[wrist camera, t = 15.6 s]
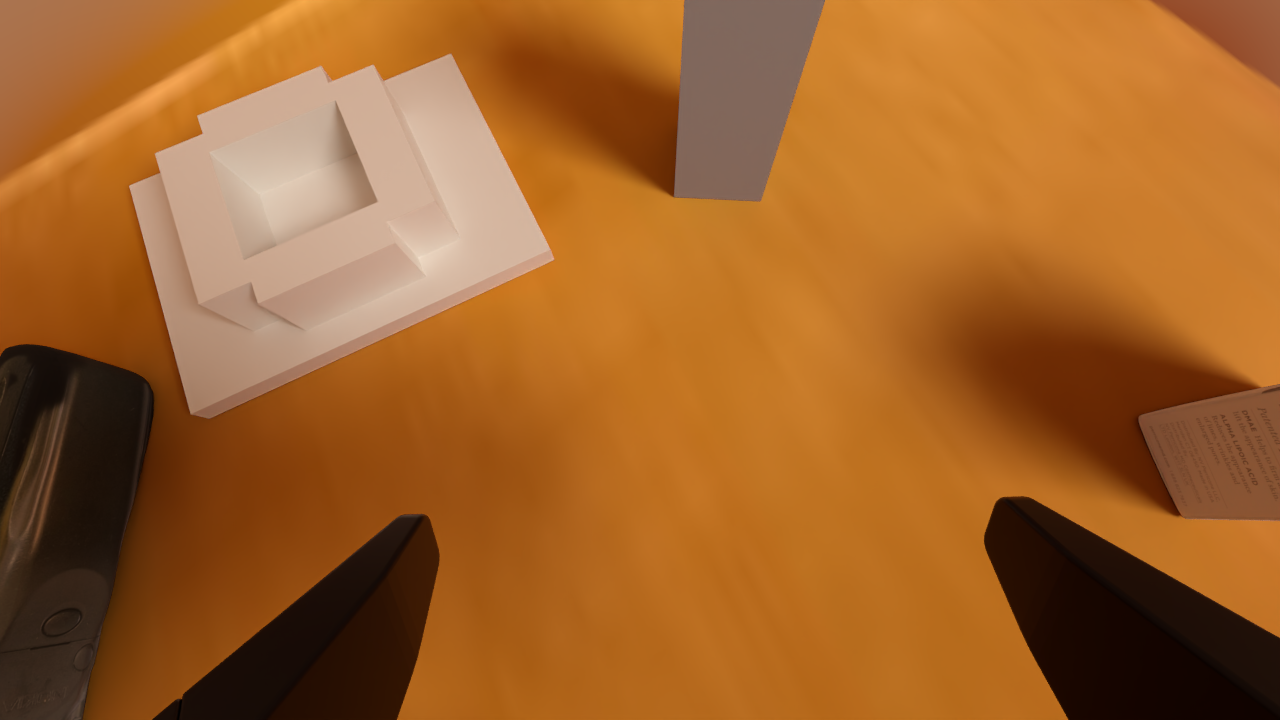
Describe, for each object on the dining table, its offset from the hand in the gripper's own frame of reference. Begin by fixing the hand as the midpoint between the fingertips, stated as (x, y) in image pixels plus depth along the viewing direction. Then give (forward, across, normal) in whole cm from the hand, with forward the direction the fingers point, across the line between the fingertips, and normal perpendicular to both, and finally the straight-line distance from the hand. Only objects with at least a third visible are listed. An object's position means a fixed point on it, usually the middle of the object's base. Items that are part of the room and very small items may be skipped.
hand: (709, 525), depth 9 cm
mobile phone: (+10, +23, +10) cm, 27 cm away
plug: (+21, -3, -2) cm, 22 cm away
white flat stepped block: (+19, +15, 0) cm, 24 cm away
